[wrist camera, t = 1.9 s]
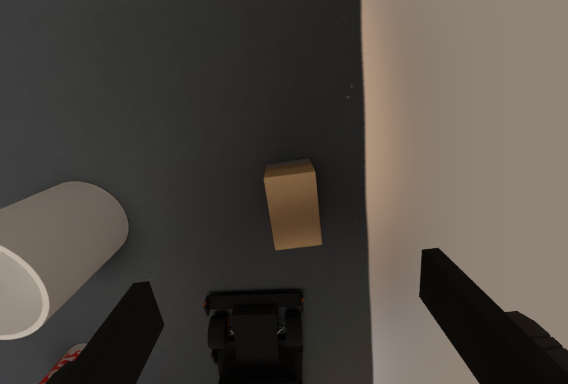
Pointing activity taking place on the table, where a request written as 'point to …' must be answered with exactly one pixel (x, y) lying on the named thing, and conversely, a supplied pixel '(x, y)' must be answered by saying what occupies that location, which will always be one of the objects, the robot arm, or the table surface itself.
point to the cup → (53, 250)
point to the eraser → (293, 203)
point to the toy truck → (256, 338)
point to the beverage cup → (65, 360)
